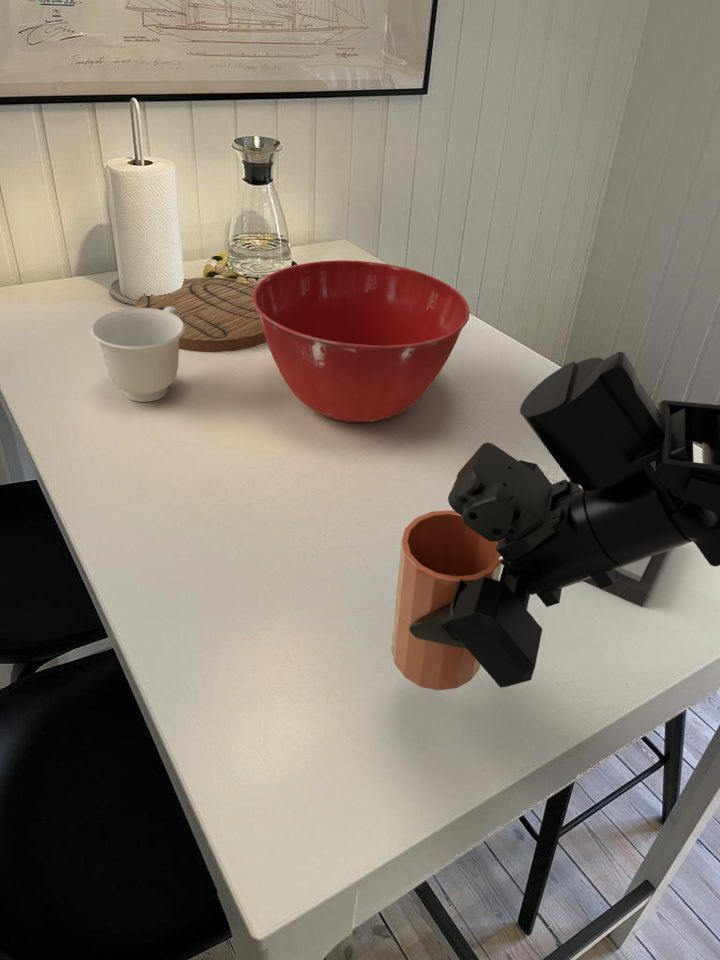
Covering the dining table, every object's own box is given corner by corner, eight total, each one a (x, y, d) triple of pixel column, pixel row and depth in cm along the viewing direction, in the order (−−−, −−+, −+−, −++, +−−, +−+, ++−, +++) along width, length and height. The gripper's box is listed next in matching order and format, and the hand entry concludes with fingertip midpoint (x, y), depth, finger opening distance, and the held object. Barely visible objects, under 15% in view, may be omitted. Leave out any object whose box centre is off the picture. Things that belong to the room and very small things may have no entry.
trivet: (211, 367, 112) (211, 356, 111) (103, 316, 123) (101, 305, 122) (317, 317, 129) (318, 307, 128) (213, 276, 140) (213, 266, 139)
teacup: (215, 374, 111) (212, 311, 105) (158, 423, 99) (151, 355, 93) (145, 356, 114) (138, 293, 108) (82, 401, 102) (70, 333, 96)
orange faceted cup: (495, 651, 63) (521, 537, 55) (451, 710, 58) (472, 596, 50) (422, 610, 66) (436, 498, 58) (374, 664, 62) (382, 549, 54)
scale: (670, 545, 87) (678, 527, 85) (642, 607, 78) (650, 588, 77) (571, 505, 91) (577, 487, 90) (534, 559, 83) (540, 540, 81)
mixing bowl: (294, 339, 122) (296, 245, 113) (468, 373, 117) (484, 277, 107) (221, 427, 100) (216, 319, 91) (431, 473, 95) (448, 364, 85)
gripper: (556, 368, 55) (397, 457, 64) (513, 519, 40) (315, 606, 49) (637, 481, 57) (473, 551, 67) (624, 660, 43) (417, 717, 52)
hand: (426, 597), depth 59 cm, fingers closed on orange faceted cup, 7 cm apart
